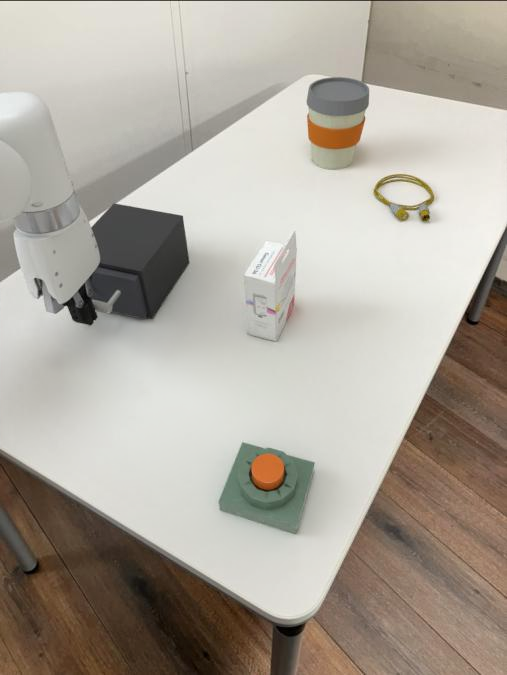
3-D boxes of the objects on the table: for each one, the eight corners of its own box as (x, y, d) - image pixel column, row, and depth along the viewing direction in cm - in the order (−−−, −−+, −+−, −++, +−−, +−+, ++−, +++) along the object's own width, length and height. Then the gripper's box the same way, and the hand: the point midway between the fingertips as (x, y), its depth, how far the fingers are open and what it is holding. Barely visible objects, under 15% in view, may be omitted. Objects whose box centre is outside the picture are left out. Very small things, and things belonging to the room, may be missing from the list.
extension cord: (362, 214, 98) (364, 205, 96) (381, 175, 108) (383, 166, 106) (427, 227, 94) (429, 218, 93) (440, 185, 104) (443, 176, 103)
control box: (219, 510, 58) (217, 494, 55) (242, 451, 63) (241, 433, 60) (295, 534, 56) (297, 519, 53) (313, 471, 61) (315, 454, 58)
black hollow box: (152, 319, 80) (141, 271, 73) (82, 302, 82) (64, 255, 75) (189, 262, 89) (182, 215, 82) (125, 249, 92) (113, 203, 85)
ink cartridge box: (265, 298, 82) (265, 221, 71) (295, 306, 81) (299, 228, 70) (245, 334, 77) (241, 257, 66) (276, 343, 75) (277, 265, 65)
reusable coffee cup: (292, 161, 112) (294, 90, 101) (325, 140, 119) (330, 72, 108) (339, 179, 107) (347, 107, 96) (371, 156, 113) (382, 86, 102)
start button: (247, 485, 56) (246, 477, 55) (257, 457, 59) (257, 449, 57) (278, 494, 55) (278, 487, 54) (287, 466, 58) (288, 458, 56)
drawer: (131, 339, 75) (120, 300, 70) (64, 322, 78) (48, 284, 72) (180, 266, 87) (174, 227, 81) (121, 253, 90) (111, 215, 84)
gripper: (54, 172, 65) (90, 282, 79) (-25, 239, 56) (32, 351, 69) (105, 181, 64) (133, 292, 77) (34, 251, 54) (80, 364, 67)
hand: (85, 319), depth 73 cm, fingers closed
